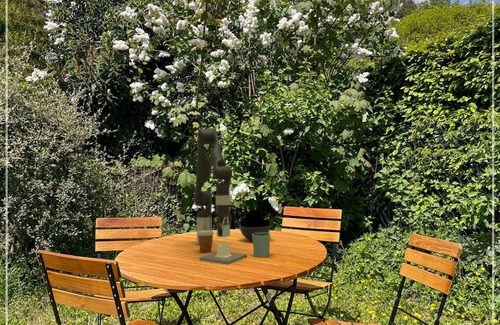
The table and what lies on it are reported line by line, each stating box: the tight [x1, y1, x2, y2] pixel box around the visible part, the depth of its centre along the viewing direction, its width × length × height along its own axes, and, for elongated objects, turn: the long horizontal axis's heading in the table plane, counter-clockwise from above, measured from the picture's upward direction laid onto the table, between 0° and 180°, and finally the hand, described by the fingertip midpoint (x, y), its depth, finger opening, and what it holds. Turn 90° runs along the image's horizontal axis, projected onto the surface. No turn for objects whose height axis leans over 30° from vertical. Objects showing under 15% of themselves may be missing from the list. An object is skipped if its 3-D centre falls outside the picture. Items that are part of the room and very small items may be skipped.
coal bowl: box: [239, 210, 271, 242], centre depth 282 cm, size 20×20×19 cm
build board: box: [199, 251, 248, 265], centre depth 233 cm, size 18×18×2 cm
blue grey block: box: [216, 224, 231, 238], centre depth 232 cm, size 5×5×6 cm
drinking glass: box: [252, 232, 271, 258], centre depth 239 cm, size 10×10×12 cm
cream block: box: [216, 242, 231, 257], centre depth 232 cm, size 5×5×6 cm
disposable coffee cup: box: [196, 230, 214, 254], centre depth 250 cm, size 10×10×12 cm
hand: (223, 235), depth 232 cm, fingers closed on blue grey block, 5 cm apart
